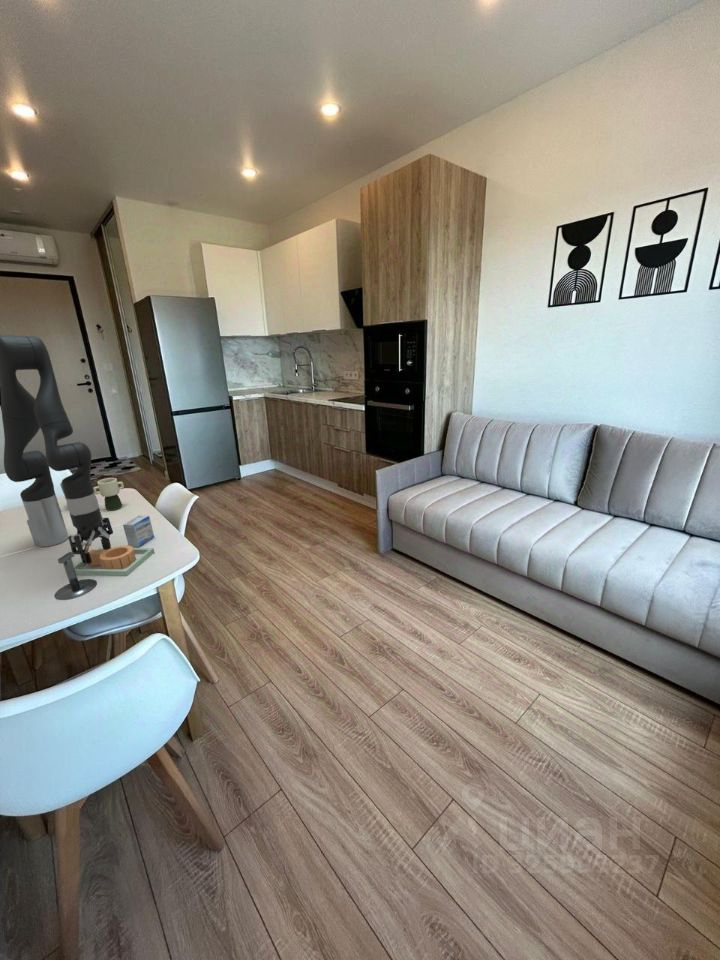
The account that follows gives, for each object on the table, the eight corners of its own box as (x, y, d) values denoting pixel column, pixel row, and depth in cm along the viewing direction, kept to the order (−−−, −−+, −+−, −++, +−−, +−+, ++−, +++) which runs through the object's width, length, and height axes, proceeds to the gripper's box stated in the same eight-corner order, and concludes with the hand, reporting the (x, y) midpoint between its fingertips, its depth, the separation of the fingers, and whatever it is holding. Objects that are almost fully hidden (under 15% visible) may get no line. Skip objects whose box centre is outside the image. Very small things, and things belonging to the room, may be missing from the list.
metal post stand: (46, 602, 106) (32, 565, 102) (74, 581, 115) (63, 546, 111) (80, 603, 105) (68, 565, 101) (106, 582, 114) (95, 547, 111)
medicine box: (139, 547, 134) (133, 525, 131) (128, 546, 135) (122, 524, 132) (154, 537, 142) (149, 515, 139) (144, 536, 142) (139, 514, 140)
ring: (80, 570, 119) (77, 559, 118) (101, 556, 128) (98, 545, 127) (123, 571, 118) (120, 560, 117) (141, 556, 127) (139, 545, 125)
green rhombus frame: (68, 577, 117) (66, 570, 117) (101, 554, 131) (99, 547, 130) (127, 578, 116) (126, 571, 115) (155, 554, 129) (153, 548, 128)
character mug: (127, 502, 175) (120, 475, 171) (129, 507, 170) (122, 479, 166) (98, 509, 169) (91, 481, 165) (100, 514, 164) (92, 485, 159)
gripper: (90, 500, 124) (102, 545, 130) (53, 518, 111) (69, 568, 116) (112, 500, 124) (123, 545, 129) (77, 518, 110) (92, 568, 115)
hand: (97, 556), depth 122 cm, fingers open, 8 cm apart
